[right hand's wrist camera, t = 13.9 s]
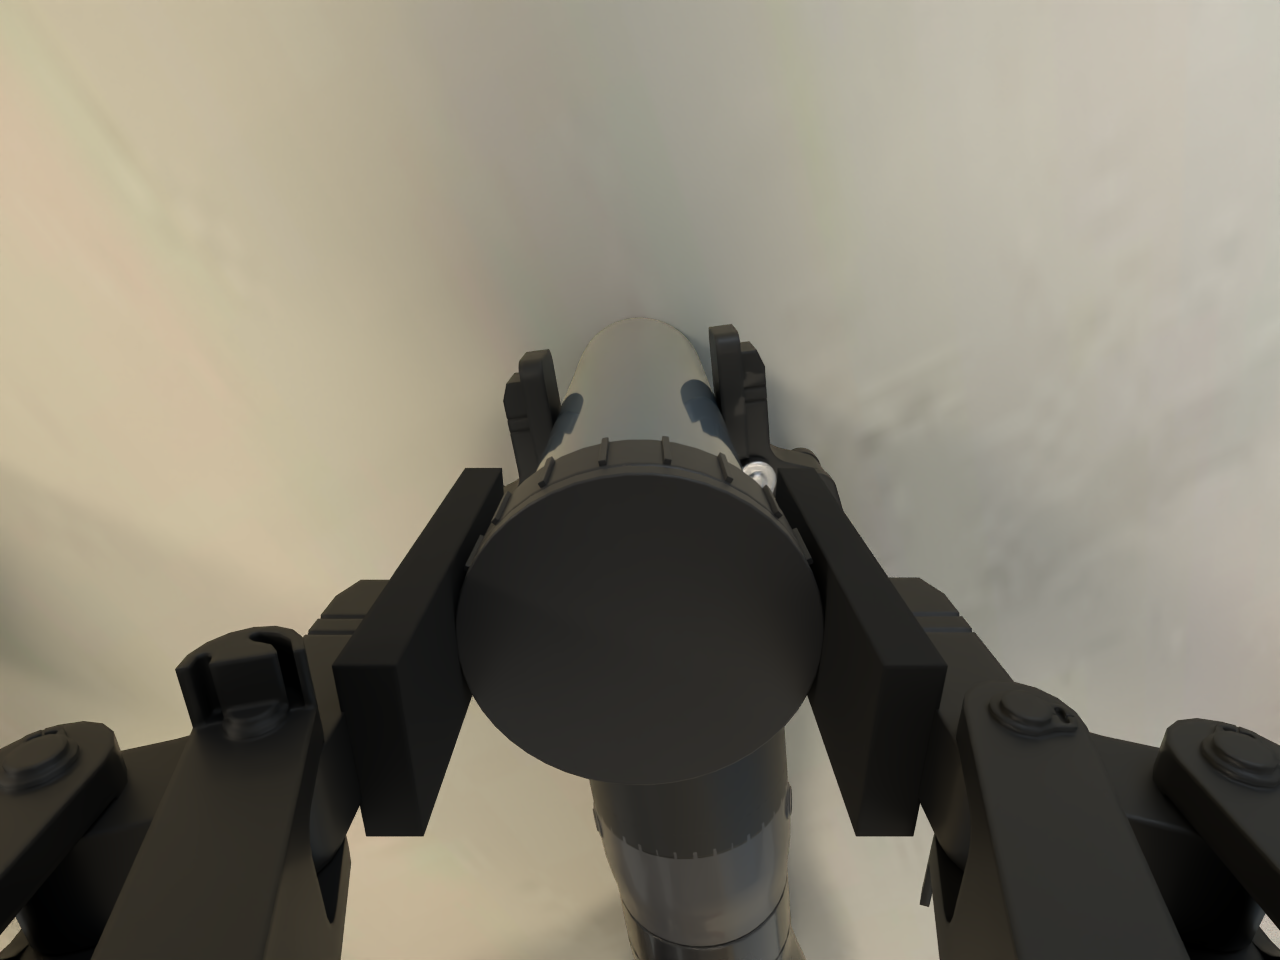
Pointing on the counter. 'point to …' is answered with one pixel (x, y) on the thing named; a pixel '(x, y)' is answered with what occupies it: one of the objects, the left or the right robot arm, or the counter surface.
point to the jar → (639, 393)
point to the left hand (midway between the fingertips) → (629, 344)
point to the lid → (639, 614)
